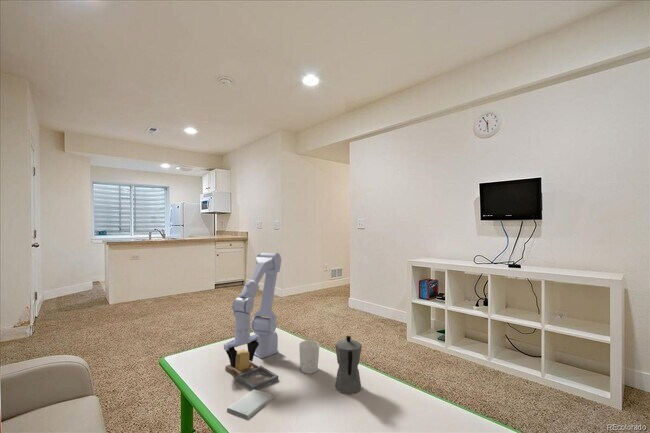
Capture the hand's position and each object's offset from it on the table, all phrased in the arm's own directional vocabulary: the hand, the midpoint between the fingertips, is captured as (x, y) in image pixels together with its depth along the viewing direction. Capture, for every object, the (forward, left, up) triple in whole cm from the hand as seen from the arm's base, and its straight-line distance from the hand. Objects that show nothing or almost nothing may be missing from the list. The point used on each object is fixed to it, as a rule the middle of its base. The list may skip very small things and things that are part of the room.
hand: (241, 363), depth 121 cm
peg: (0, 0, -3) cm, 3 cm away
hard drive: (+10, +22, -3) cm, 24 cm away
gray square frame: (0, +10, -3) cm, 11 cm away
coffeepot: (-19, +38, -3) cm, 43 cm away
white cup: (-19, +18, -3) cm, 26 cm away
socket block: (0, 0, -3) cm, 3 cm away
